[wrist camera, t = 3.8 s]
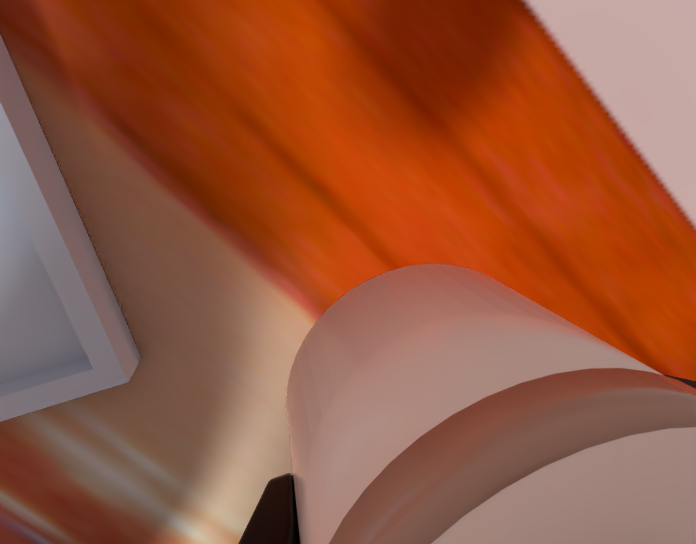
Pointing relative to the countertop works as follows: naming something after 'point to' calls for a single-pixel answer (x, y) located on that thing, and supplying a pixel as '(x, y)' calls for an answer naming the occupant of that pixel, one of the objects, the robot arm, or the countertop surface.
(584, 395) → the cream lidded jar
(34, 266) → the tray
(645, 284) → the countertop surface
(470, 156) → the countertop surface
